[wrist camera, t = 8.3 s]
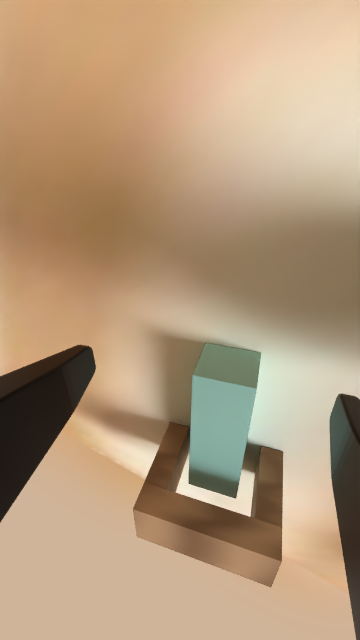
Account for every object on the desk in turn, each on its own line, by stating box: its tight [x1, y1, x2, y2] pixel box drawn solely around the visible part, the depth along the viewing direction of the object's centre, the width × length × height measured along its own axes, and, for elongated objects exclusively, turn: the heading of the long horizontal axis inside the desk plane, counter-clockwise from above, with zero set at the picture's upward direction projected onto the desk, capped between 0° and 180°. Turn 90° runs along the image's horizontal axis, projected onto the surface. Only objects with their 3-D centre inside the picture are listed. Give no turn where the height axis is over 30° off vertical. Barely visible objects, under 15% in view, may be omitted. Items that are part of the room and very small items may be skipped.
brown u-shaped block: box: [133, 422, 283, 587], centre depth 24 cm, size 10×4×8 cm, turn 90°
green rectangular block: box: [189, 343, 261, 498], centre depth 23 cm, size 4×12×4 cm, turn 0°
